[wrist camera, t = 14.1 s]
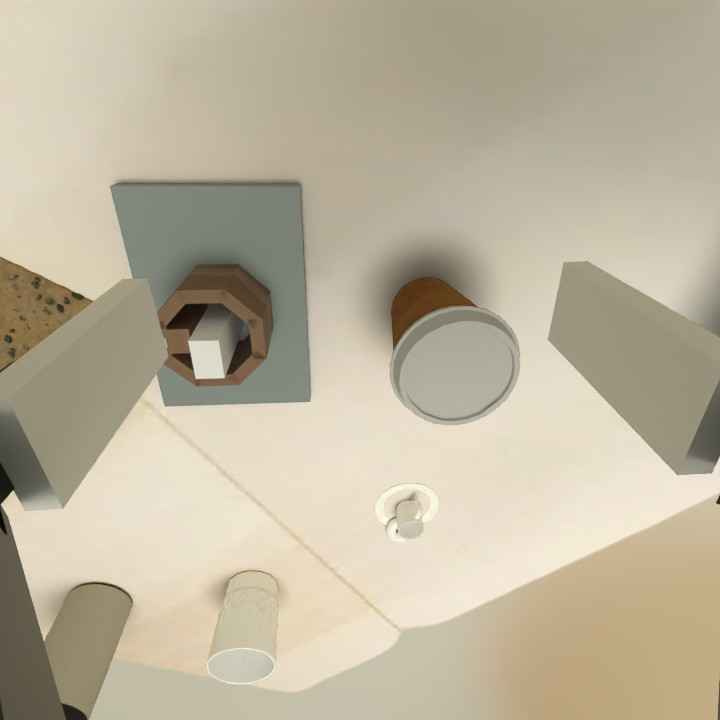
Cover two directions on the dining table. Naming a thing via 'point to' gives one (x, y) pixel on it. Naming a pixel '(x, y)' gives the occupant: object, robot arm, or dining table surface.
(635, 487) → the dining table surface
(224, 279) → the brown octagonal ring
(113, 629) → the travel mug
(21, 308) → the speckled square slab
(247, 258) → the shaft board
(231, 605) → the white cup
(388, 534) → the teacup and saucer
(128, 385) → the robot arm
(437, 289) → the disposable coffee cup
